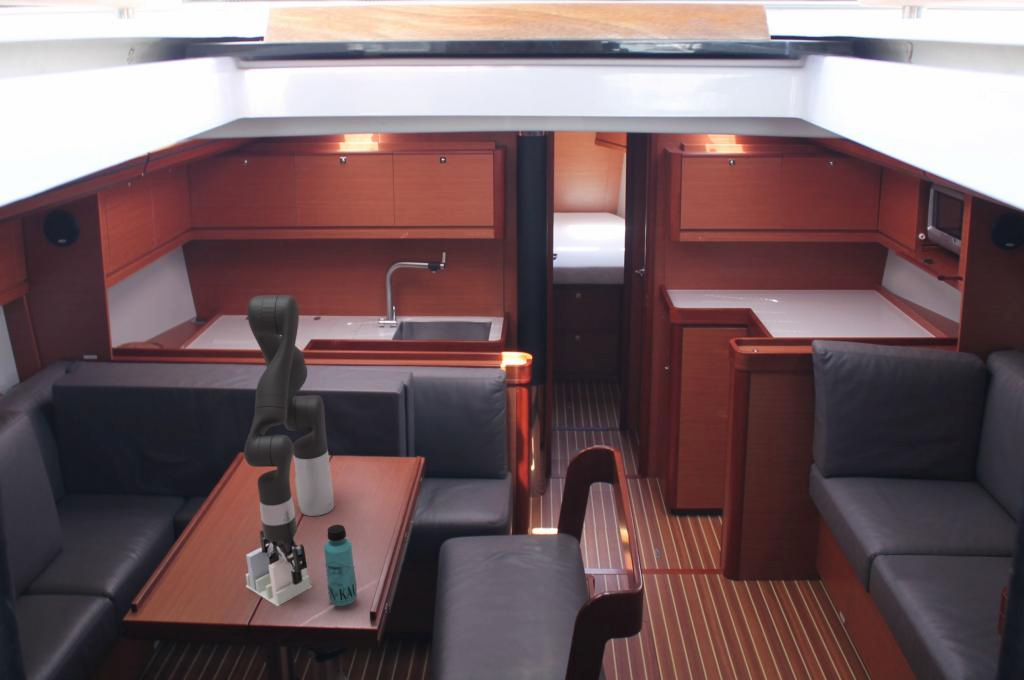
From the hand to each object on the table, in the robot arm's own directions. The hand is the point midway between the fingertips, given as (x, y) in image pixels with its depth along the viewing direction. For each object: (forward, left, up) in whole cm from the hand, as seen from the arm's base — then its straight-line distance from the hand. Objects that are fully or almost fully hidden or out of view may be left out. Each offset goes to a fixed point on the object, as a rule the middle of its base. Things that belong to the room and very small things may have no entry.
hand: (286, 576), depth 226 cm
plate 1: (-8, 0, -4) cm, 9 cm away
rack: (-4, 0, -5) cm, 6 cm away
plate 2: (0, +1, -4) cm, 4 cm away
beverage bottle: (+13, +6, -5) cm, 15 cm away
